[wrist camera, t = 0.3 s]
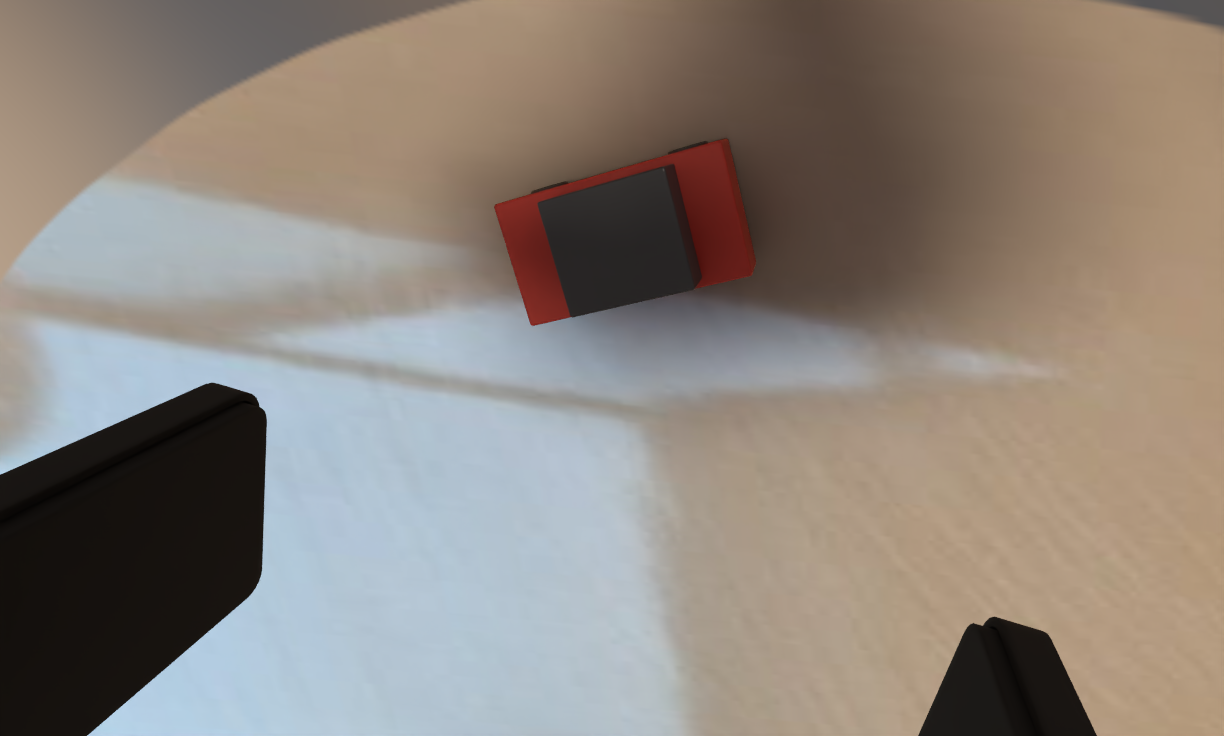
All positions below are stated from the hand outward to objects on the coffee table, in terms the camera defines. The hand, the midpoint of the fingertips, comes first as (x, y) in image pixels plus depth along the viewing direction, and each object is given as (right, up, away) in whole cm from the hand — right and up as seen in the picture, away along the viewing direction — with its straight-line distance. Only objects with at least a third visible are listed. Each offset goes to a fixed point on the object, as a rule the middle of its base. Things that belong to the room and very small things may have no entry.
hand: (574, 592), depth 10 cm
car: (+1, +8, +18) cm, 20 cm away
